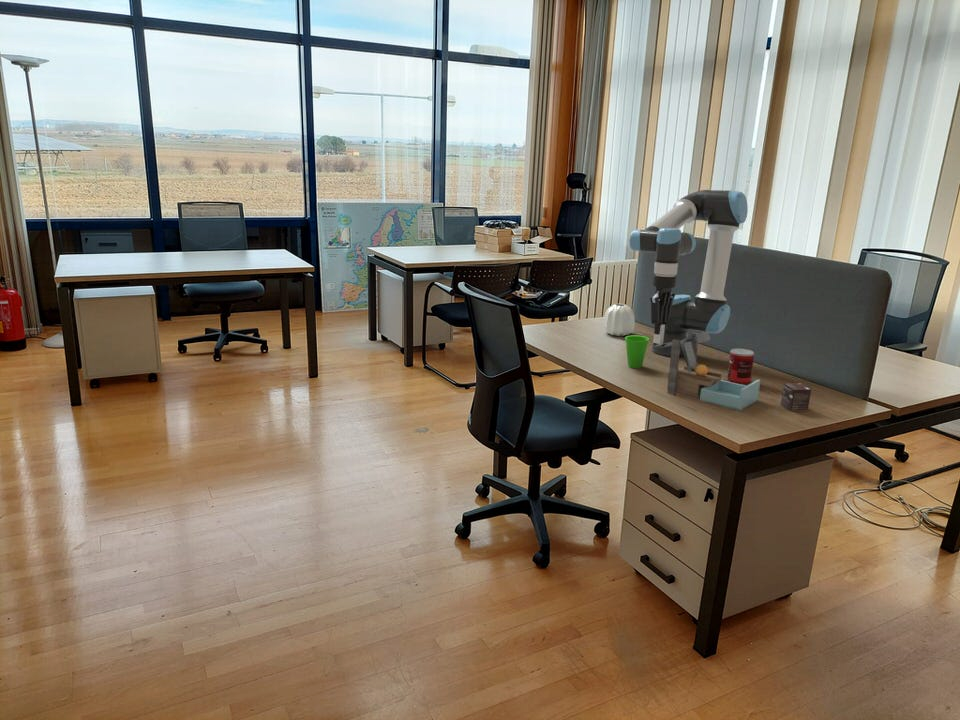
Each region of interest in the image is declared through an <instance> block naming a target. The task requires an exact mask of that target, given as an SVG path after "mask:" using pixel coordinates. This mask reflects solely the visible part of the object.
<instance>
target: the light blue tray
mask: <svg viewBox="0 0 960 720" xmlns="http://www.w3.org/2000/svg"><path fill="white" fill-rule="evenodd" d="M760 386H761V379H756V380H754V381H752V382H750V383H748V384H737V383H732V382H730V381H727V380H723V379H721V381H720V382H718V383H717V384H715V385H713V386H711V387H709V386H706V387H704V388H702V389H701V394H700V396H699V401H700V402H703V403H708V404H713V405H714V406H720V407H724V408H727V409H732V410H735V411H739V412H741V411H743V410H745V409H746V408H748V407H749V406H751V405H753V404H754V403H756V402H758V401H759V395H760V393H759V392H760Z"/></svg>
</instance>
